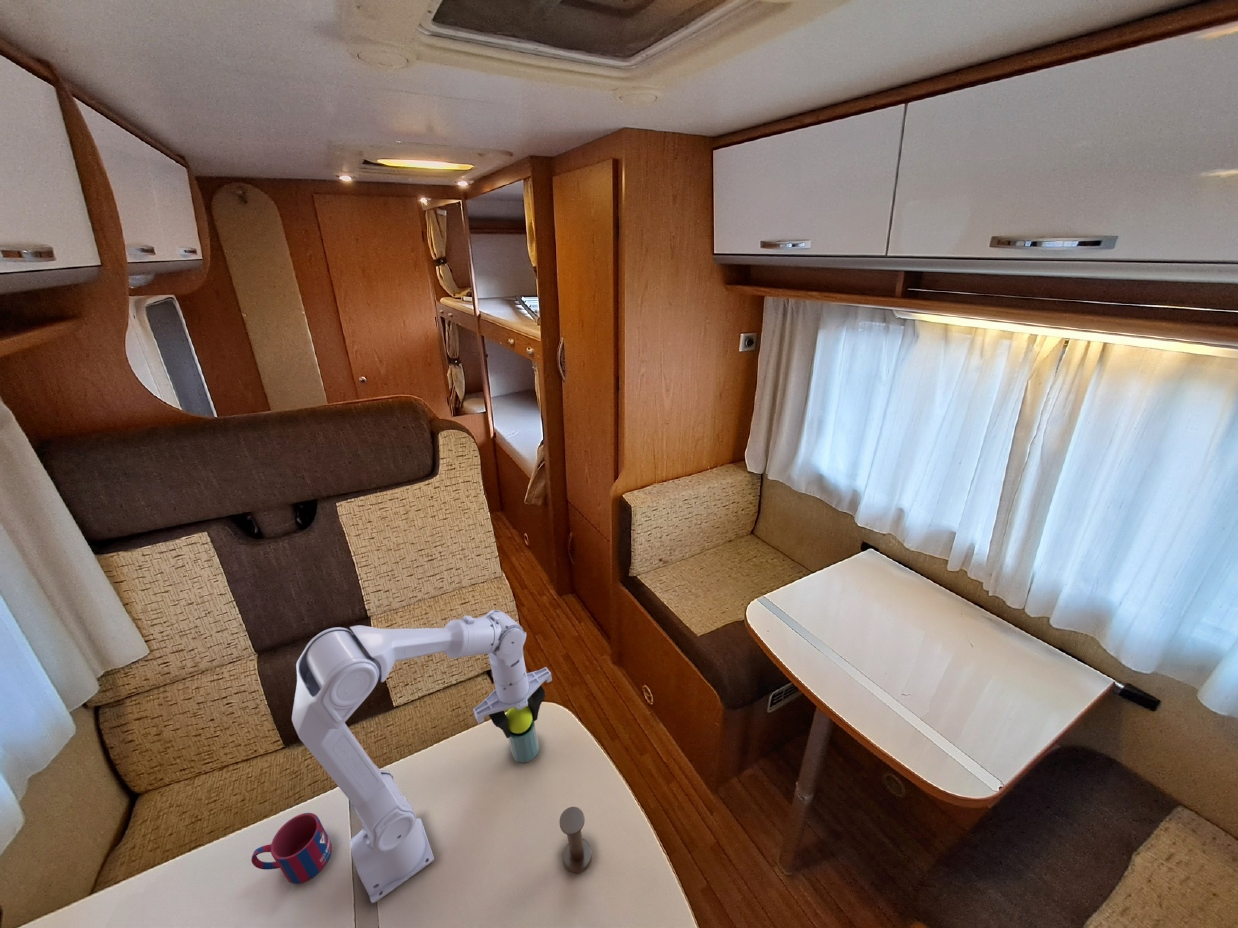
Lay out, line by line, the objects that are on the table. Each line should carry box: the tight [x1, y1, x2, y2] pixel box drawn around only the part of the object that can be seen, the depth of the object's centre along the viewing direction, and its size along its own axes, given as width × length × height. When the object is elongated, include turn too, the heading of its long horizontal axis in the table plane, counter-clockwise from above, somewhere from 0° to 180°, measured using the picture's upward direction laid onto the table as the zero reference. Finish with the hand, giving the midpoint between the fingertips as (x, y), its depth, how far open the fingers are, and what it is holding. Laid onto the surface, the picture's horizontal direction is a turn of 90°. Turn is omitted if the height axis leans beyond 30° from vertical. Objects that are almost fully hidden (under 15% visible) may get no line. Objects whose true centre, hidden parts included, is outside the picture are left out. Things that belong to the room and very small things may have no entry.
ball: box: [505, 705, 532, 733], centre depth 91 cm, size 5×5×5 cm
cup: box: [250, 812, 333, 885], centre depth 78 cm, size 7×10×7 cm
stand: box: [558, 806, 593, 874], centre depth 75 cm, size 5×5×10 cm
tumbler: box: [507, 718, 540, 764], centre depth 93 cm, size 5×5×7 cm
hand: (520, 724), depth 91 cm, fingers closed on ball, 5 cm apart
